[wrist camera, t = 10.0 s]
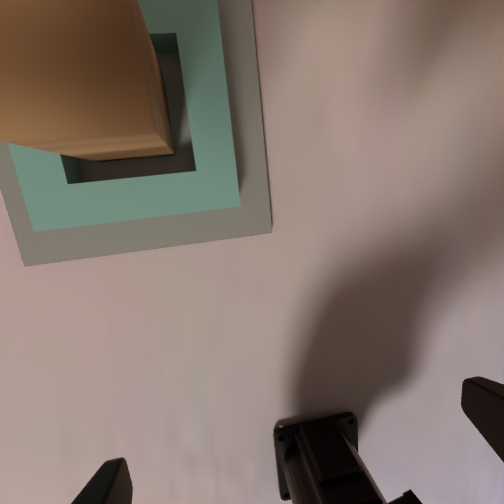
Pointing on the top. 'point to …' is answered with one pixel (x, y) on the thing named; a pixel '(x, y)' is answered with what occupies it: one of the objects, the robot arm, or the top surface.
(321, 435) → the robot arm
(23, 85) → the walnut peg
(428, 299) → the top surface
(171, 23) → the socket block
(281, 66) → the top surface
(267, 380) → the top surface
